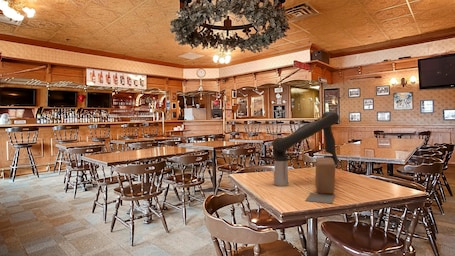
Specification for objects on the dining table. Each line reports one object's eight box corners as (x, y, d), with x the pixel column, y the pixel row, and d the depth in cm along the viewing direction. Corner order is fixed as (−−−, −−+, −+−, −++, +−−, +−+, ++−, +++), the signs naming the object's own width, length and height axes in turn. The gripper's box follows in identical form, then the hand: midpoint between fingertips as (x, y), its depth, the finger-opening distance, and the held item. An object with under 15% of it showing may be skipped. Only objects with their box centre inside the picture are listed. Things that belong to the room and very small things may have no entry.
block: (334, 194, 161) (335, 164, 155) (317, 193, 163) (317, 164, 157) (331, 185, 171) (332, 157, 165) (315, 185, 173) (315, 157, 167)
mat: (305, 201, 149) (305, 200, 149) (310, 193, 164) (310, 192, 164) (332, 204, 143) (332, 203, 143) (335, 196, 158) (335, 195, 158)
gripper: (317, 157, 186) (313, 160, 171) (337, 158, 180) (335, 161, 165) (317, 168, 186) (313, 172, 171) (338, 169, 180) (335, 174, 165)
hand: (324, 167), depth 168 cm, fingers closed
